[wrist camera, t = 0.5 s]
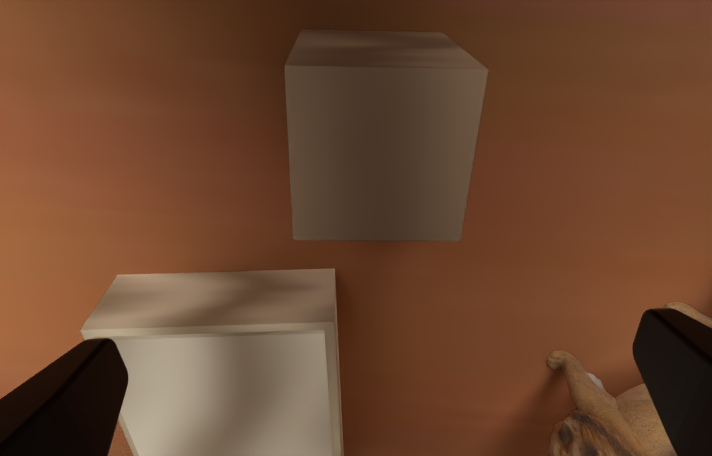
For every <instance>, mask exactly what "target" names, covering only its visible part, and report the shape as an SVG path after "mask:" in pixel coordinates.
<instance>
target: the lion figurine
mask: <svg viewBox="0 0 712 456" xmlns="http://www.w3.org/2000/svg"><path fill="white" fill-rule="evenodd" d="M663 308H673V309H676V310H678V311H680V312H682V313H684V314H686V315H688V316H690V317H692V318H694V319H695V320H697V321H699V322H701V323H703V324H705V325H707V326H709V327H711V328H712V318H710V317H708V316H705V315H703V314H701V313H700V312H698V311H696V310H695V309H693V308H692V307H690V306H688V305H687V304H685V303H682V302H671V303H668V304H666V305H665V306H664V307H663ZM547 364H548V365H549V366H550V367H551V368H552V369H558V368H560V369H562V370H563V372H564V373H565V375H566V379H567V384H568V388H569V391H570V394H571V396H572V398H573V401H574V403H575V405H576V409H575V410H573V411H571V412H570V414H569V415H568V416H567V417H566V418H565V419H564V420H563V421H559V422H558V423H555V424H554V426H553V430H552V432H551V433H550V434H549V437H548V438H549V446H548V450H549V454H548V456H677V454H676V452H675V450H674V448H673V446H672V445H671V442H670V440H669V438H668V436H667V434H666V432H665V429H664V427H663V425H662V422H661V420H660V418H659V415H658V413H657V411H656V409H655V406H654V404H653V402H652V399H651V397H650V395H649V392H648V390H647V388H646V385H645V383H643V384H640V385H638V386H635V387H633V388H631V389H629V390H627V391H625V392H623V393H621V394H620V395H618V396H616V397H612V396H611V395H610V394H608V393H607V392H606V391H605V389H604V386H603V384H602V382H601V380H600V379H597V378H596V377H595V376H594V375H593V374H591V373H587V372H586V371H585V370H584V368H583V367H582V365H581V363H580V362H579V361H578V360H577V359H576V358H575V357H574V356H573V355H571V354H570V353H569V352H567V351H564V350H556V351H553V352H551V353H550V355H549V356H548V357H547Z"/></svg>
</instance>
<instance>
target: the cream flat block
mask: <svg viewBox="0 0 712 456" xmlns="http://www.w3.org/2000/svg"><path fill="white" fill-rule="evenodd" d="M80 331H81V333H82V335H83V338H84V340H87V339H95V338H110V339H112V340H113V341H114V342H115V343H116V345H117V347H118V350H119V352H120V354H121V357H122V359H123V361H124V363H125V366H126V368H127V371H128V378H129V380H128V386H127V390H126V393H125V397H124V400H123V404H122V407H121V411H120V415H119V418H118V420H119V423H120V425H121V427H122V430H123V432H124V434H125V437H126V439H127V441H128V444H129V446H130V448H131V451H132V453H133V455H134V456H344V453H343V431H342V410H341V388H340V367H339V345H338V324H337V302H336V281H335V268H331V269H297V270H263V271H230V272H196V273H162V274H128V275H117V276H116V278H115V279H114V281H113V282H112V284H111V285H110V287H109V288H108V290H107V291H106V293H105V294H104V296H103V297H102V298H101V300H100V301H99V303H98V304H97V306H96V307H95V309H94V310H93V312H92V313H91V315H90V316H89V318H88V319H87V321H86V322H85V324H84V325H83V327H82V328H81V329H80Z"/></svg>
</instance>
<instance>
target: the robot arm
mask: <svg viewBox="0 0 712 456" xmlns="http://www.w3.org/2000/svg"><path fill="white" fill-rule="evenodd" d="M633 356H634V359H635V362H636V364H637V367H638V369H639V371H640V374H641V376H642V378H643V381H644V383H645V385H646V388H647V390H648V392H649V395H650V397H651V399H652V402H653V404H654V406H655V409H656V411H657V413H658V415H659V418H660V420H661V422H662V425H663V427H664V429H665V432H666V434H667V436H668V438H669V440H670V442H671V445H672V446H673V448H674V450H675V452H676V454H677V456H712V328H711V327H709V326H707V325H705V324H703V323H701V322H699V321H697V320H695V319H694V318H692V317H690V316H688V315H686V314H684V313H682V312H680V311H678V310H676V309H673V308H657V309H649V310H646V311H645V312H644V313H643V315H642V318H641V321H640V324H639V327H638V330H637V333H636V336H635V339H634V342H633ZM128 380H129V378H128V371H127V368H126V366H125V363H124V361H123V359H122V357H121V354H120V352H119V350H118V347H117V345H116V343H115V342H114V341H113V340H112V339H110V338H95V339H87V340H84V341H83V342H81V343H80V344H78V345H77V346H75V347H74V348H73V349H71V350H70V351H68V352H67V353H65V354H64V355H63V356H61V357H60V358H58V359H57V360H55V361H54V362H53V363H51V364H50V365H48V366H47V367H45V368H44V369H43V370H41V371H40V372H38V373H37V374H35V375H34V376H33V377H31V378H30V379H28V380H27V381H25V382H24V383H23V384H21V385H20V386H18V387H17V388H15V389H14V390H13V391H11V392H10V393H8V394H7V395H5V396H4V397H3V398H1V399H0V456H108V453H109V450H110V446H111V443H112V439H113V436H114V432H115V429H116V425H117V422H118V418H119V415H120V411H121V407H122V404H123V400H124V397H125V393H126V390H127V386H128Z"/></svg>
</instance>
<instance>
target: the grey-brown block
mask: <svg viewBox="0 0 712 456" xmlns="http://www.w3.org/2000/svg"><path fill="white" fill-rule="evenodd" d="M284 70H285V90H286V110H287V130H288V150H289V170H290V190H291V210H292V230H293V240H342V241H460V239H461V233H462V227H463V221H464V215H465V209H466V203H467V196H468V190H469V184H470V178H471V172H472V166H473V160H474V154H475V148H476V142H477V136H478V130H479V124H480V118H481V112H482V106H483V100H484V94H485V88H486V81H487V75H488V69H487V68H486V67H485V66H483V65H482V64H481V63H480V62H479V61H477V60H476V59H475V58H474V57H472V56H471V55H470V54H469V53H467V52H466V51H465V50H464V49H463V48H461V47H460V46H459V45H458V44H456V43H455V42H454V41H453V40H452V39H450V38H449V37H448V36H447V35H445V34H444V33H443V32H407V31H365V30H323V29H301V31H300V33H299V35H298V37H297V39H296V41H295V44H294V46H293V48H292V50H291V52H290V54H289V56H288V59H287V61H286V63H285V65H284Z"/></svg>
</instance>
